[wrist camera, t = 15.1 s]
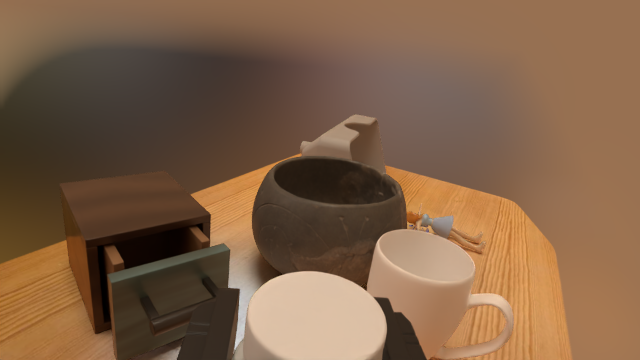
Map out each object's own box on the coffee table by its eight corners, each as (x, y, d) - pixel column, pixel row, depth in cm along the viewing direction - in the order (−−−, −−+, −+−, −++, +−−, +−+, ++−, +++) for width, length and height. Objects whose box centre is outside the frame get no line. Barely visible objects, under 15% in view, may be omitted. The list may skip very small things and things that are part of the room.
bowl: (423, 288, 46) (449, 194, 42) (304, 346, 35) (322, 227, 31) (332, 224, 59) (344, 146, 54) (223, 251, 48) (227, 157, 43)
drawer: (246, 345, 33) (252, 271, 30) (132, 400, 27) (126, 314, 24) (180, 259, 44) (180, 198, 41) (86, 285, 38) (79, 215, 35)
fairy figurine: (494, 246, 51) (408, 217, 53) (480, 275, 53) (397, 245, 55) (483, 213, 62) (411, 189, 64) (471, 237, 64) (402, 214, 65)
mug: (338, 361, 34) (359, 253, 30) (374, 312, 41) (396, 219, 37) (475, 441, 29) (523, 323, 25) (490, 369, 36) (530, 267, 31)
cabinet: (208, 294, 40) (210, 214, 37) (95, 334, 33) (85, 240, 30) (166, 239, 49) (164, 170, 45) (69, 262, 42) (59, 183, 39)
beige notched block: (318, 161, 87) (325, 107, 83) (386, 176, 83) (398, 121, 79) (272, 199, 65) (279, 128, 60) (363, 222, 61) (377, 148, 56)
